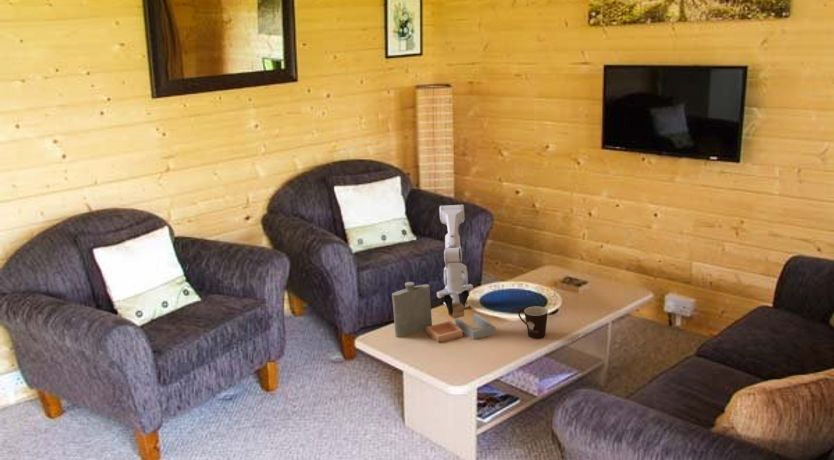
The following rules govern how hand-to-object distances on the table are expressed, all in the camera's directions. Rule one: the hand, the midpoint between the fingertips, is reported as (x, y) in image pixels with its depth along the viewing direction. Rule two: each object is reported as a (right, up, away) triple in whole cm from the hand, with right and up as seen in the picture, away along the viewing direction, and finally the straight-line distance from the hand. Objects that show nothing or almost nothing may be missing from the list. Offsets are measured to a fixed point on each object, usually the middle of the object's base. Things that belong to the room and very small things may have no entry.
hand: (456, 311), depth 293 cm
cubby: (+7, -7, +3) cm, 11 cm away
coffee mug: (+29, -8, -4) cm, 31 cm away
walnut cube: (0, -2, +1) cm, 2 cm away
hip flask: (-16, -9, +6) cm, 19 cm away
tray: (-5, -9, +1) cm, 10 cm away
